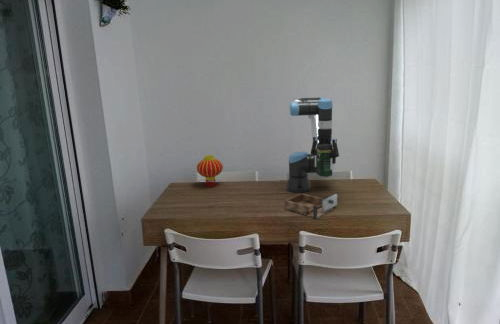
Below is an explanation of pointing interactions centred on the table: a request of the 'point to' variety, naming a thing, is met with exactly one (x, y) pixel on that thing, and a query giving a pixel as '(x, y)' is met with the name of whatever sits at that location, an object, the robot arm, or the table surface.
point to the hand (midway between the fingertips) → (324, 167)
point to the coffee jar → (324, 159)
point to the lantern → (209, 168)
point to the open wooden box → (306, 205)
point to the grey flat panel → (329, 202)
